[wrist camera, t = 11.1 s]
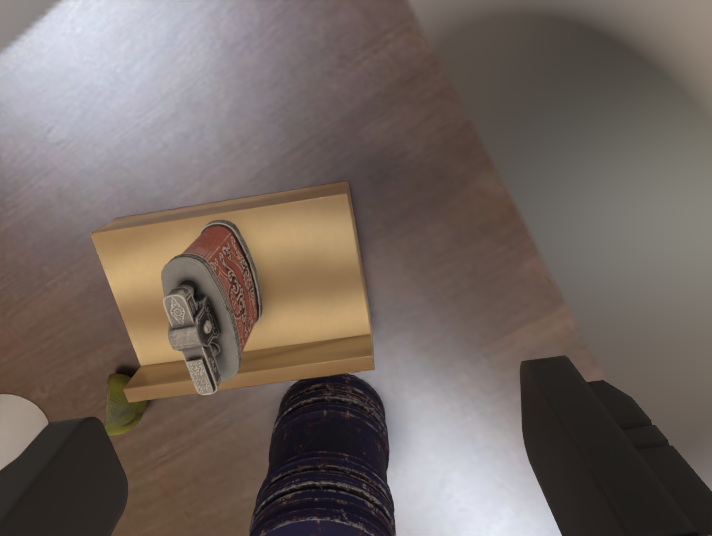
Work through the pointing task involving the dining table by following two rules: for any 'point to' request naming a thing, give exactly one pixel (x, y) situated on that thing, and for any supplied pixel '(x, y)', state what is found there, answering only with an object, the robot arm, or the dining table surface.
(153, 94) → the dining table surface
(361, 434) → the dark blue cylinder
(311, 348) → the shelf
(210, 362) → the lighter
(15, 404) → the candle
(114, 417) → the lime
